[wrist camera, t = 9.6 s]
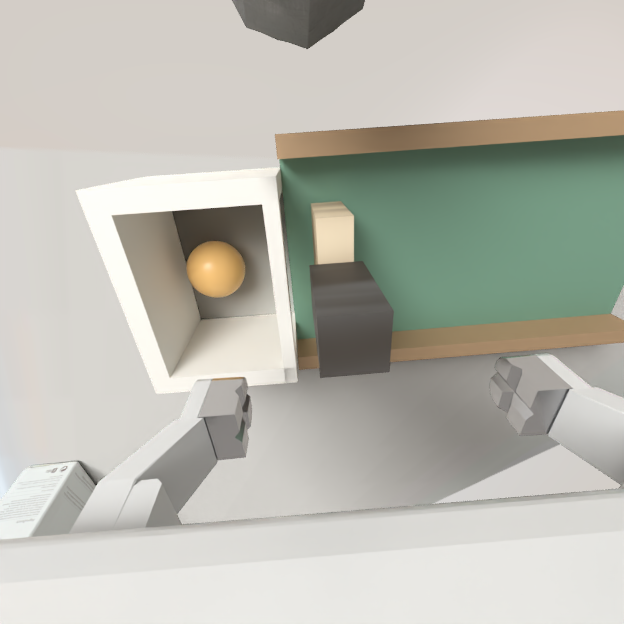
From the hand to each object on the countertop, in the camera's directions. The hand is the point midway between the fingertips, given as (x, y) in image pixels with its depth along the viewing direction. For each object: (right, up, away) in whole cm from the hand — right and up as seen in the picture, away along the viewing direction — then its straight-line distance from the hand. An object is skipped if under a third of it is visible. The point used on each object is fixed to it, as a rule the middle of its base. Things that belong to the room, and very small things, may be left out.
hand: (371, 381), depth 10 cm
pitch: (+5, +7, +14) cm, 17 cm away
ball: (-9, +5, +12) cm, 16 cm away
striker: (-1, +6, +12) cm, 14 cm away
